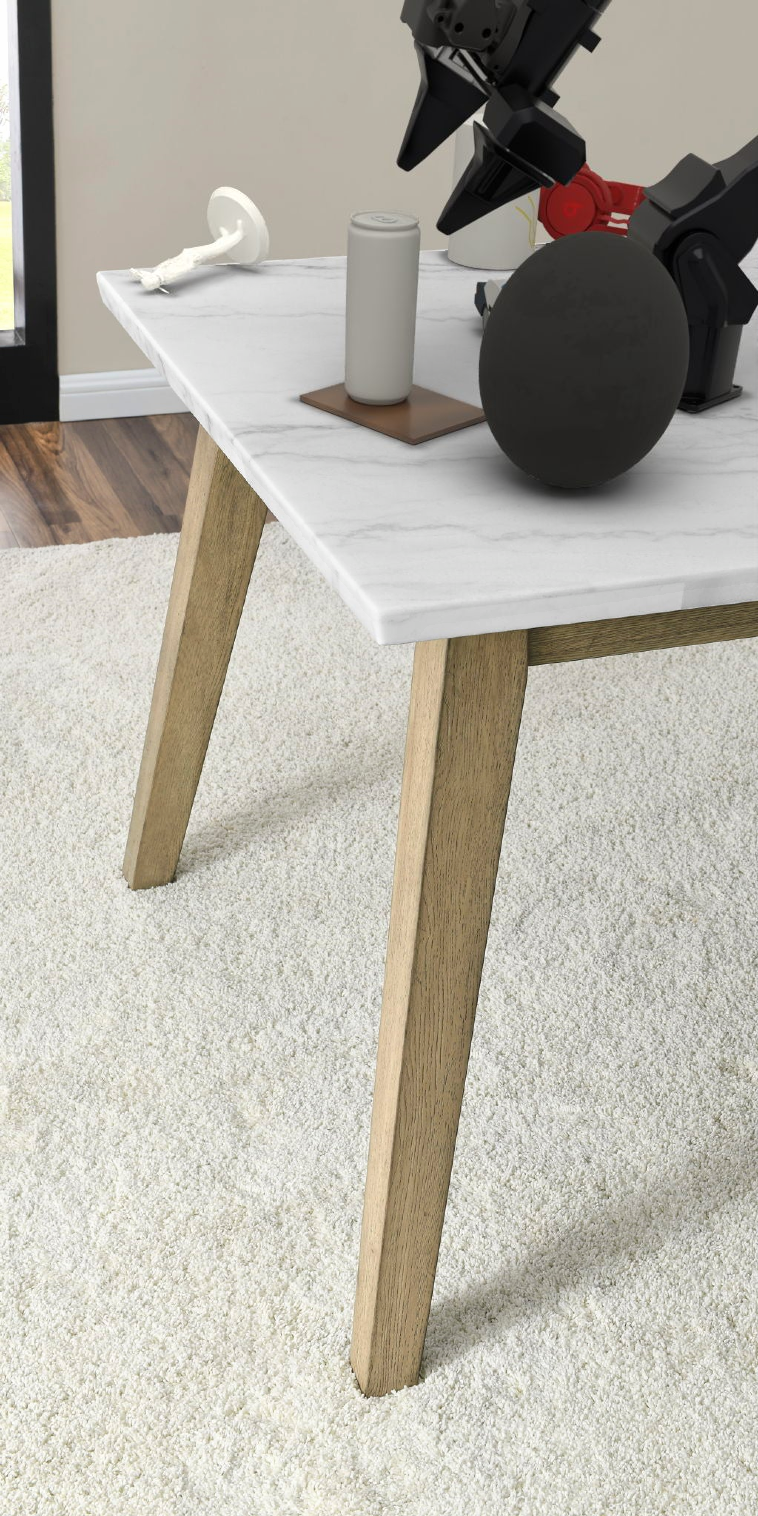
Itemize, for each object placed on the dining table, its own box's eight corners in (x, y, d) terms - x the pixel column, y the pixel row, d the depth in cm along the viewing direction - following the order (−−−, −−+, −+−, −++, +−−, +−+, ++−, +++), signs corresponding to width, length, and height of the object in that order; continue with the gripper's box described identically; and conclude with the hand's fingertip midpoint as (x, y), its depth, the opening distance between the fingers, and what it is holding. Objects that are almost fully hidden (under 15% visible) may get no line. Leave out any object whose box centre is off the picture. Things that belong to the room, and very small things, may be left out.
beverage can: (372, 412, 96) (380, 229, 89) (329, 392, 99) (333, 214, 92) (425, 399, 99) (436, 220, 92) (381, 380, 102) (389, 205, 95)
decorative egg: (486, 435, 94) (507, 200, 86) (672, 458, 92) (712, 219, 84) (453, 506, 84) (473, 247, 76) (661, 533, 82) (704, 271, 74)
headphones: (530, 141, 144) (714, 175, 147) (514, 213, 148) (695, 244, 151) (556, 170, 131) (757, 206, 135) (538, 248, 135) (734, 281, 138)
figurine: (246, 179, 120) (148, 243, 114) (281, 259, 123) (188, 324, 118) (196, 193, 125) (100, 254, 119) (231, 269, 129) (140, 332, 123)
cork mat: (492, 417, 97) (493, 412, 97) (413, 445, 92) (413, 439, 92) (378, 377, 103) (379, 371, 103) (299, 400, 99) (299, 394, 98)
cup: (536, 271, 130) (550, 131, 124) (448, 267, 130) (457, 127, 124) (530, 249, 137) (543, 115, 130) (446, 245, 137) (455, 111, 130)
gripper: (424, -140, 89) (291, 81, 97) (524, -33, 77) (364, 210, 85) (549, -42, 95) (415, 158, 103) (659, 71, 83) (499, 288, 91)
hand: (420, 198), depth 95 cm, fingers open, 9 cm apart
